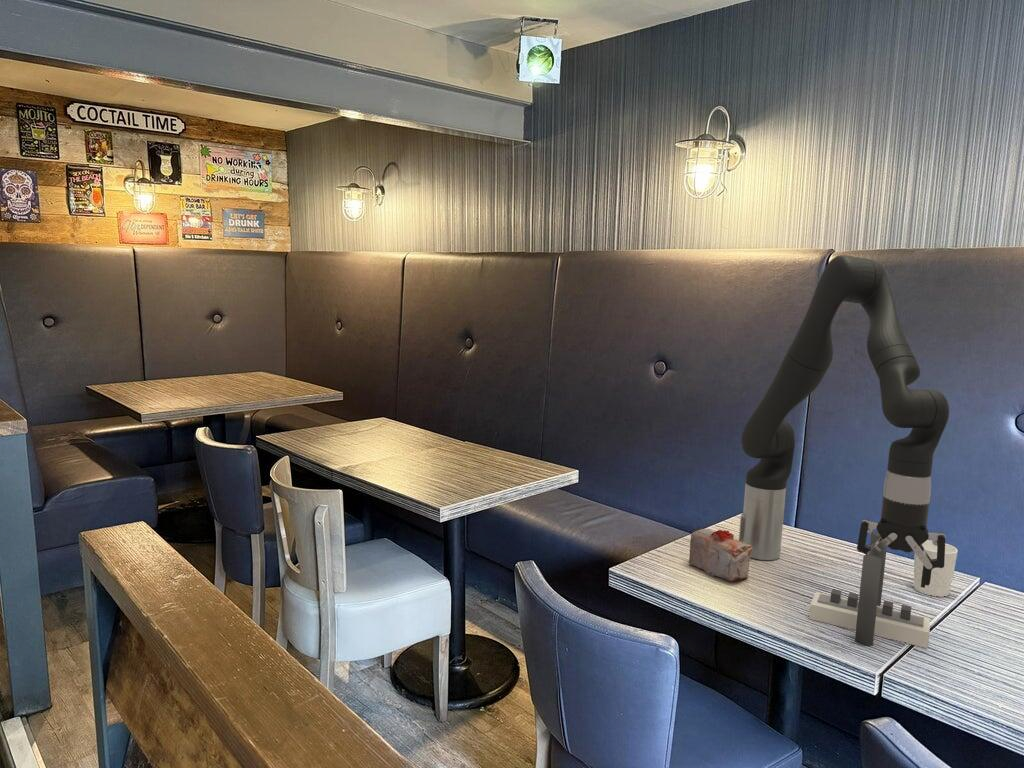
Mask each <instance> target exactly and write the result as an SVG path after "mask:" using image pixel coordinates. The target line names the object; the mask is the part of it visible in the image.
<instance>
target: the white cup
mask: <svg viewBox="0 0 1024 768" xmlns="http://www.w3.org/2000/svg"><path fill="white" fill-rule="evenodd" d="M922 546H923V547H924V548H925V550H926V552H927V554H928V555H929V557H930V558H931V559H937V546H935V545H933V543H932V540H931V539H928V540H927V541H925V542H924V543H923V544H922ZM957 557H958V549H957V548H956V547H955V546H953V545H951V544H948V543H946V542H945V561H944V567H943V568H933V569H932V571H931V579H930V584H929V586H928V585H925V588H923V587H921V580H922V571H923V563H922V562H921V560H920V559H919V558H918V557H917V555H916V554H915V553H914V557H913V588H914V590H916V591H917V592H919V593H921V594H924V595H926V594H927V596H930V595H932V596H931V597H936V596H939V597H940V598H944V596H945V597H948V596H949V594H950V593H951V587H952V583H953V578H954V574H955V569H956V563H957V562H956V561H957Z"/></svg>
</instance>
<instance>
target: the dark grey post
mask: <svg viewBox="0 0 1024 768" xmlns="http://www.w3.org/2000/svg"><path fill="white" fill-rule="evenodd" d="M881 564H882V559H881V558H880V557H877V556H874V555H865V554H864V555H863V558H862V565H861V566H862V568H861V577H860V586H859V593H858V602H859V604H858V613H857V623H856V630H855V634H854V642H856V643H857V644H859V645H862V646H866V647H870V646H873V645H874V640H875V639H874V637H875V635H874V630H875V620H876V611H877V602H878V592H879V583H880V574H881Z"/></svg>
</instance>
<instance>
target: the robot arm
mask: <svg viewBox="0 0 1024 768" xmlns="http://www.w3.org/2000/svg"><path fill="white" fill-rule="evenodd" d="M894 300H895V299H894V297H893V294H892V290H891V286H890V281H889V278H888V276H887V273H886V271H885V268H884V267H883V265H882V264H881V263H880V262H879V261H876V260H874V259H871V258H864V257H858V256H853V255H846V254H840V255H837V256H834V257H833V258H832V259H831V260H830V261H829V262H828V263H827V265H826V266H825V268H824V270H823V272H822V273H821V276H820V278H819V281H818V283H817V285H816V288H815V290H814V293H813V295H812V298H811V301H810V302H809V305H808V309H807V312H806V313H805V315H804V317H803V320H802V322H801V323H800V326H799V328H798V330H797V332H796V334H795V336H794V339H793V340H792V343H791V344H790V346H789V347H788V349H787V351H786V353H785V354H784V357H783V359H782V360H781V363H780V364H779V368H778V370H777V372H776V374H775V376H774V377H773V379H772V381H771V383H770V385H769V387H768V389H767V390H766V392H765V394H764V396H763V397H762V399H761V400H760V402H759V404H758V405H757V407H756V408H755V409H754V411H753V413H752V414H751V416H750V417H749V419H748V420H747V422H746V423H745V424H744V427H743V430H742V434H741V441H740V442H741V443H740V444H741V448H742V450H743V452H744V453H745V454H746V455H747V456H749V457H751V458H753V459H760V460H759V461H758V462H757V464H756V465H754V466H753V467H750V468H749V469H748V470H747V471H746V474H745V485H744V498H743V512H742V513H741V515H740V519H739V520H740V521H739V530H738V531H739V534H738V541H740V542H743V543H746V544H749V545H752V553H751V556H750V559H754V560H755V559H756V560H760V561H776V560H778V559H780V557H781V551H782V541H783V540H782V539H783V528H784V526H783V525H784V516H785V507H786V506H785V503H786V491H787V483H788V480H789V479H790V476H791V474H792V466H793V463H794V462H793V460H794V454H795V446H796V445H795V444H796V436H795V432H794V428H793V425H791V423H790V422H789V421H788V420H785V418H786V417H787V416H788V414H790V413H791V411H792V410H794V409H795V408H796V407H797V406H798V405H799V404H801V403H802V402H803V401H804V400H805V399H807V398H808V396H810V395H811V394H813V392H814V391H815V390H816V389H817V388H818V386H819V385H820V384H821V382H822V380H823V379H824V377H825V375H826V373H827V372H828V370H829V368H830V366H831V363H832V361H833V357H834V350H833V349H834V348H833V338H832V324H833V320H834V318H835V316H836V313H837V312H838V309H839V308H840V306H841V304H842V303H843V302H846V303H854V304H860V306H861V307H862V308H863V310H864V311H865V312H866V315H867V316H868V319H869V330H868V334H867V339H866V348H867V354H868V357H869V360H870V361H871V365H872V366H873V369H874V371H875V373H876V375H877V377H878V381H879V389H880V396H881V397H880V398H881V400H880V401H881V410H882V414H883V416H884V418H885V419H886V420H887V422H888V423H890V425H892V426H893V427H896V428H900V429H911V430H910V433H909V434H908V435H907V436H905V437H902V438H899V439H896V440H894V441H892V442H891V444H890V447H889V450H888V459H887V470H886V473H885V474H886V475H885V479H884V484H883V490H882V491H883V492H882V494H883V495H882V500H881V501H882V502H881V511H880V520H879V522H878V523H877V522H873V521H870V520H869V519H868V518H864V519H862V521H861V524H860V527H859V528H860V529H859V534H858V538H857V539H858V540H857V545H856V550H857V552H859V553H862V554H864V555H874V556H876V554H877V553H878V552H880V551H881V550H883V549H884V548H885V547H886V546H887V548H890V550H894V551H902V552H903V553H909V554H910V553H912V552H914V555H915V554H916V555H917V557H918V558H919V559H920V560H921V562H922V563H923V571H922V580H921V587H923V588H925V585H928V586H929V584H930V579H931V571H932V569H933V568H943V567H944V561H945V543H946V534H945V533H944V532H942V531H941V532H938V533H936V532H929V531H928V528H927V526H928V520H929V519H928V517H929V511H930V510H929V509H930V500H931V495H932V494H931V491H932V480H931V479H932V468H933V457H934V454H935V451H936V449H937V447H938V445H939V443H940V440H941V438H942V435H943V433H944V431H945V428H946V426H947V423H948V422H949V421H948V420H949V417H950V406H949V402H948V399H947V397H946V396H945V395H944V394H943V393H942V392H941V391H938V390H936V389H935V390H934V389H926V388H925V389H923V388H922V389H918V388H915V389H913V388H912V389H910V388H909V387H908V386H909V385H911V384H913V383H914V382H916V381H917V380H918V379H919V378H920V375H921V368H920V365H919V363H918V361H917V360H916V359H917V358H916V357H915V355H914V353H913V350H912V349H911V347H910V345H909V343H908V340H907V339H906V336H905V333H904V331H903V329H902V325H901V323H900V320H899V316H898V313H897V309H896V303H895V301H894ZM873 530H876V531H877V532H878V533H879V534H880V536H881V538H880V539H879V540H878V541H877V542H876V543H875V544H874V545H872V546H871V547H870V545H866V543H867V538H868V534H871V533H873ZM927 540H931V541H932V543H933V545H935V546H937V559H931V558H930V557H929V555H928V554H927V552H926V550H925V548H924V547H923V546H922V544H923V543H924V542H925V541H927Z"/></svg>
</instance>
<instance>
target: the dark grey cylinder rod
mask: <svg viewBox="0 0 1024 768" xmlns="http://www.w3.org/2000/svg"><path fill="white" fill-rule="evenodd" d="M880 538H881V536H880V534H879V533H878V531H877V532H876V531H874V532H873V531H872V532H871V533H870V541H869V547H871V546H872V545H874V544H875V543H876V542H877V541H878V540H879V539H880ZM887 550H888V546H886V547H885V548H884V549H883V550H881V551H880V552H878V553H877V554H876V556H877V557H880V558H881V559H882V564H881V574H880V583H879V592H878V602H877V606H880V607H882V606H881V604H882V599H883V598H882V597H883V587H884V578H885V569H886V560H887V559H886V558H887Z"/></svg>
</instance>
